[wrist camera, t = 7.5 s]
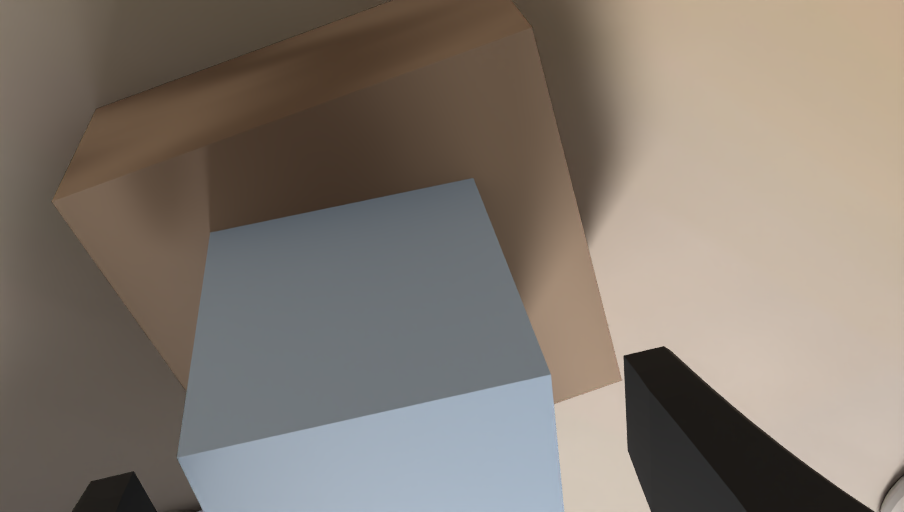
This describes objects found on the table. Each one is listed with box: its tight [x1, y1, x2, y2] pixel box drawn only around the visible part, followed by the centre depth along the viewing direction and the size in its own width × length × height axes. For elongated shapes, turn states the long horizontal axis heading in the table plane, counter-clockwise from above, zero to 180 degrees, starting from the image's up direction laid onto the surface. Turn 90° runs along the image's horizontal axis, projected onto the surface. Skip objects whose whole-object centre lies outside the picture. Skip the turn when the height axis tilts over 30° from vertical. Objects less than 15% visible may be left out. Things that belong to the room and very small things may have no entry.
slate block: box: [177, 178, 564, 512], centre depth 13 cm, size 4×4×5 cm
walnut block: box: [52, 0, 622, 404], centre depth 17 cm, size 8×8×4 cm
